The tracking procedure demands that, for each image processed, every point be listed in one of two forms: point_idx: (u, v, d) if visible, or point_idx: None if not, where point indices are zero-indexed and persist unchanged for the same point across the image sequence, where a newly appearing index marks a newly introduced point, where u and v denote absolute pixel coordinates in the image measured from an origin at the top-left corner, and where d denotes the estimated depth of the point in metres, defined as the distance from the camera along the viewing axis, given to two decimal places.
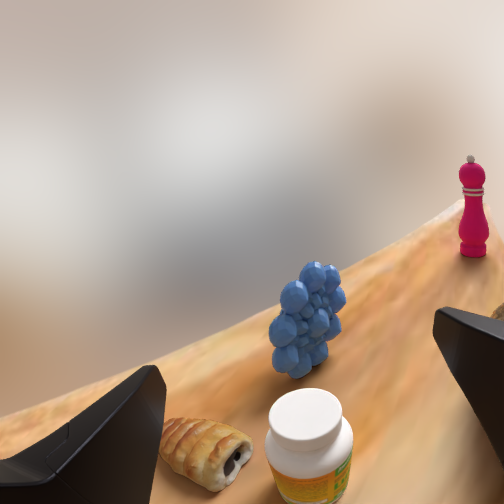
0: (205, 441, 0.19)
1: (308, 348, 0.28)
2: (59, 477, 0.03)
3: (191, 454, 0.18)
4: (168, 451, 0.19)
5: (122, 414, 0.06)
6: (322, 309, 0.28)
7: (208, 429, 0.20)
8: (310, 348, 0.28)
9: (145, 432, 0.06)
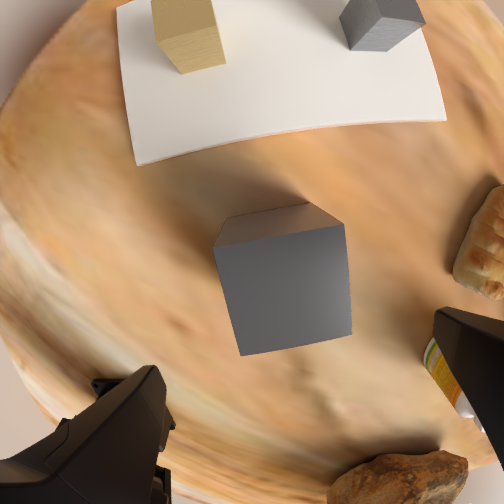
0: (503, 271, 0.15)
1: None
2: (58, 476, 0.03)
3: (494, 262, 0.15)
4: (496, 226, 0.15)
5: (122, 414, 0.06)
6: None
7: None
8: None
9: (145, 432, 0.06)
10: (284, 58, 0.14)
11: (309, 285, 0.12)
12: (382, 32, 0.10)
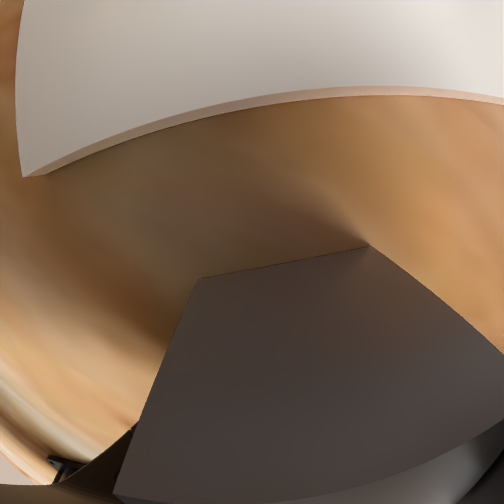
0: None
1: None
2: None
3: None
4: None
5: None
6: None
7: None
8: None
9: None
10: None
11: None
12: None
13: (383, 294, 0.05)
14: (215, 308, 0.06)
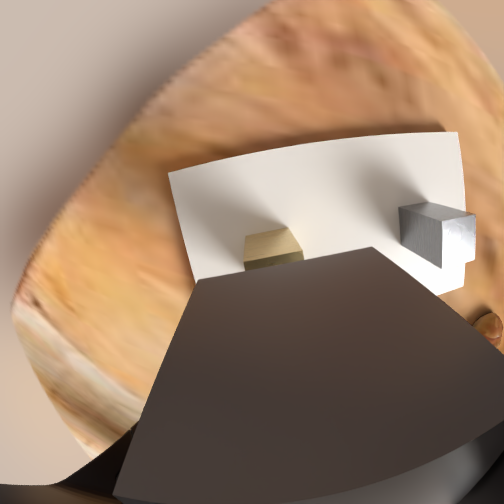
0: None
1: None
2: None
3: None
4: None
5: None
6: None
7: None
8: None
9: None
10: None
11: None
12: None
13: (383, 295, 0.05)
14: (215, 309, 0.06)
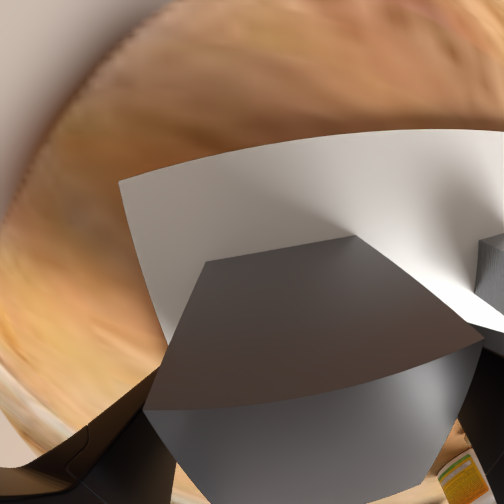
0: None
1: None
2: (81, 484, 0.03)
3: None
4: None
5: (144, 415, 0.06)
6: None
7: None
8: None
9: None
10: None
11: (377, 457, 0.04)
12: None
13: (360, 269, 0.07)
14: (222, 281, 0.08)
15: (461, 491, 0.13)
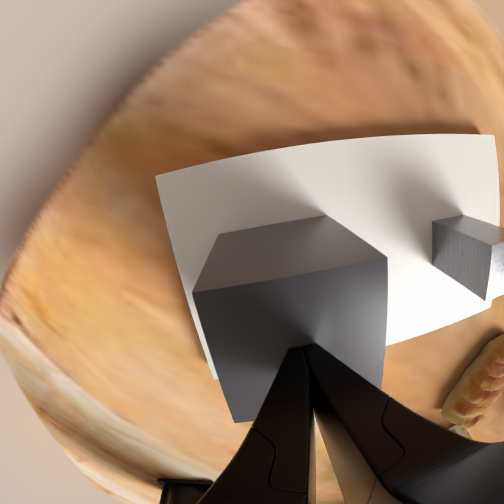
0: (484, 409, 0.16)
1: None
2: (300, 497, 0.03)
3: (475, 409, 0.16)
4: (483, 385, 0.16)
5: None
6: None
7: (494, 402, 0.16)
8: None
9: (313, 419, 0.06)
10: None
11: (332, 342, 0.08)
12: None
13: (322, 231, 0.11)
14: (231, 242, 0.12)
15: None
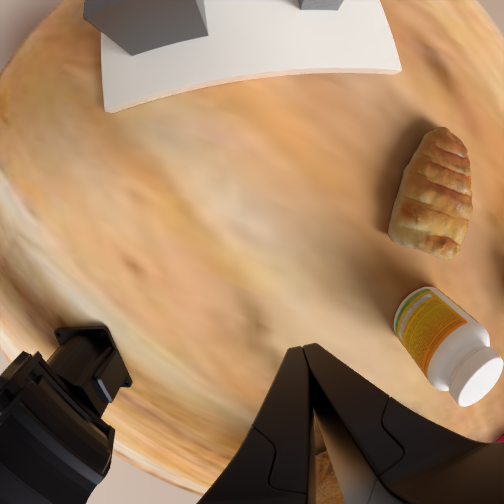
0: (449, 223, 0.15)
1: None
2: (300, 497, 0.03)
3: (432, 213, 0.15)
4: (428, 173, 0.15)
5: None
6: None
7: (463, 218, 0.15)
8: None
9: (313, 419, 0.06)
10: (238, 18, 0.14)
11: None
12: None
13: None
14: None
15: (426, 327, 0.16)
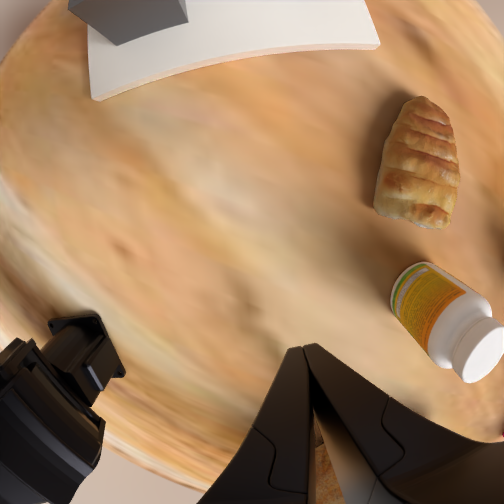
0: (435, 191, 0.15)
1: None
2: (301, 497, 0.03)
3: (415, 181, 0.15)
4: (409, 140, 0.15)
5: None
6: None
7: (450, 186, 0.15)
8: None
9: (313, 419, 0.06)
10: (216, 4, 0.13)
11: None
12: None
13: None
14: None
15: (423, 301, 0.16)
